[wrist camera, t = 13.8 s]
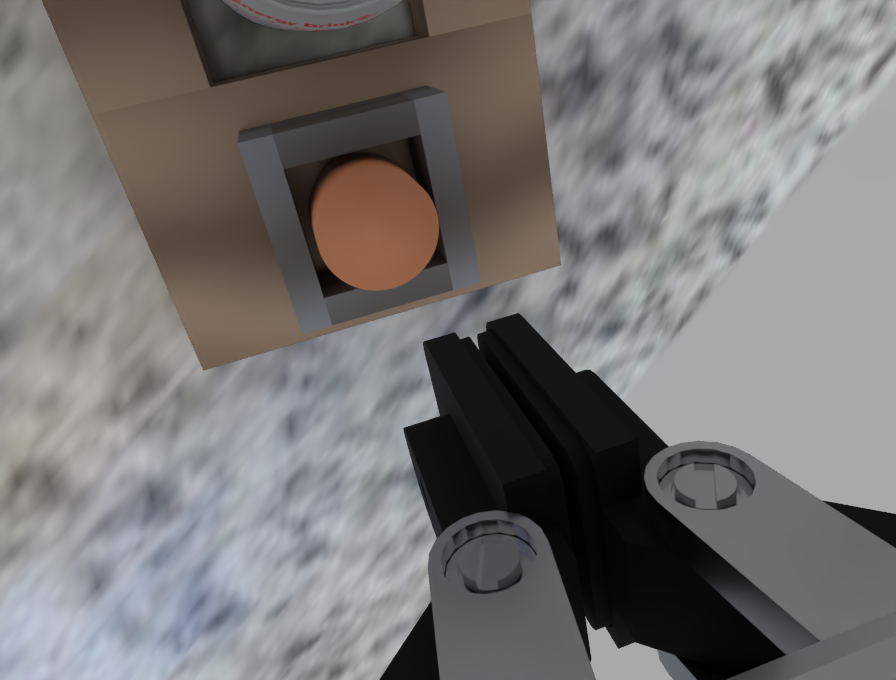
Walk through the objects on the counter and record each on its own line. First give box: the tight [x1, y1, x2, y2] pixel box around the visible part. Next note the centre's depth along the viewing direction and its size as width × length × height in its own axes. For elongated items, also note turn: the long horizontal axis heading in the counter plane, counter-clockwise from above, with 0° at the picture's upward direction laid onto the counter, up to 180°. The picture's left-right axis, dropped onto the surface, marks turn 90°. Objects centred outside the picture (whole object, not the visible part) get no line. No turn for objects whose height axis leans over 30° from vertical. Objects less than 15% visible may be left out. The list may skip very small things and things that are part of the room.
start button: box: [309, 153, 439, 291], centre depth 20 cm, size 4×4×3 cm
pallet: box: [42, 0, 561, 371], centre depth 20 cm, size 18×14×4 cm
